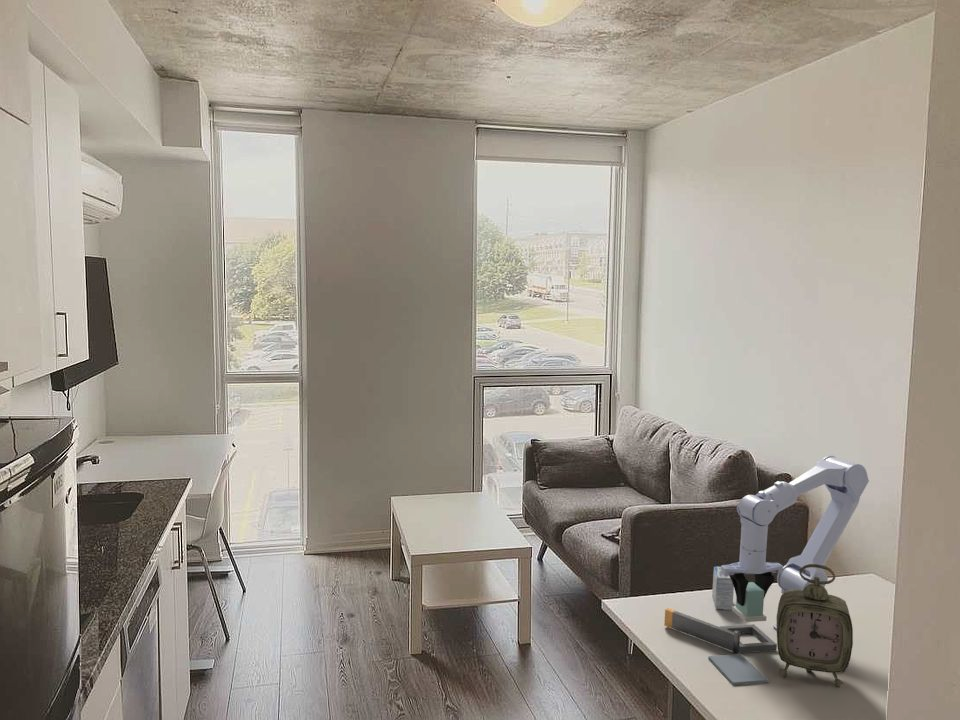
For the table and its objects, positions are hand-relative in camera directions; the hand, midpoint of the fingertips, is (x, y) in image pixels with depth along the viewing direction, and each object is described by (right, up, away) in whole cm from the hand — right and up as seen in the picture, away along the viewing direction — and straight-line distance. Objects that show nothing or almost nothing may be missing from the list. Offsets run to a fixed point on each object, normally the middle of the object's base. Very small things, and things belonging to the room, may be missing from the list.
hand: (749, 603), depth 176 cm
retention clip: (-11, -9, +1) cm, 14 cm away
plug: (0, -3, 0) cm, 3 cm away
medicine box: (0, -7, +21) cm, 23 cm away
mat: (-7, -11, -12) cm, 18 cm away
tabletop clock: (+8, -11, -14) cm, 19 cm away
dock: (0, -9, +1) cm, 9 cm away
